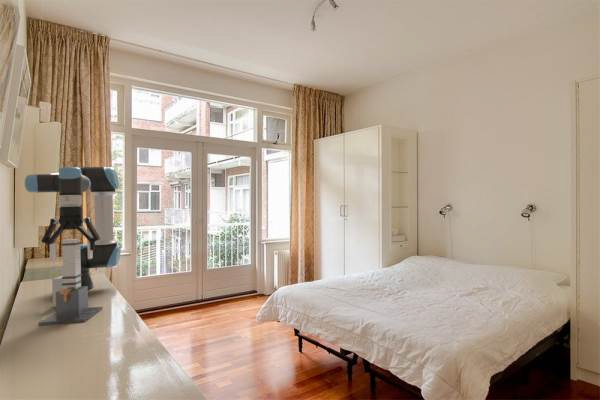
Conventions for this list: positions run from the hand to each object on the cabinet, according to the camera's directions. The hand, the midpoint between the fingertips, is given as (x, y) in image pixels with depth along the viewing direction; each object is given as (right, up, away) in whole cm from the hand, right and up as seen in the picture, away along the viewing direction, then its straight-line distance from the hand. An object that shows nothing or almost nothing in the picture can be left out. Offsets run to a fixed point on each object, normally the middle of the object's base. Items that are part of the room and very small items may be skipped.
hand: (71, 259), depth 136 cm
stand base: (+1, -23, 0) cm, 23 cm away
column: (0, -14, 0) cm, 14 cm away
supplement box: (-13, -23, +17) cm, 32 cm away
